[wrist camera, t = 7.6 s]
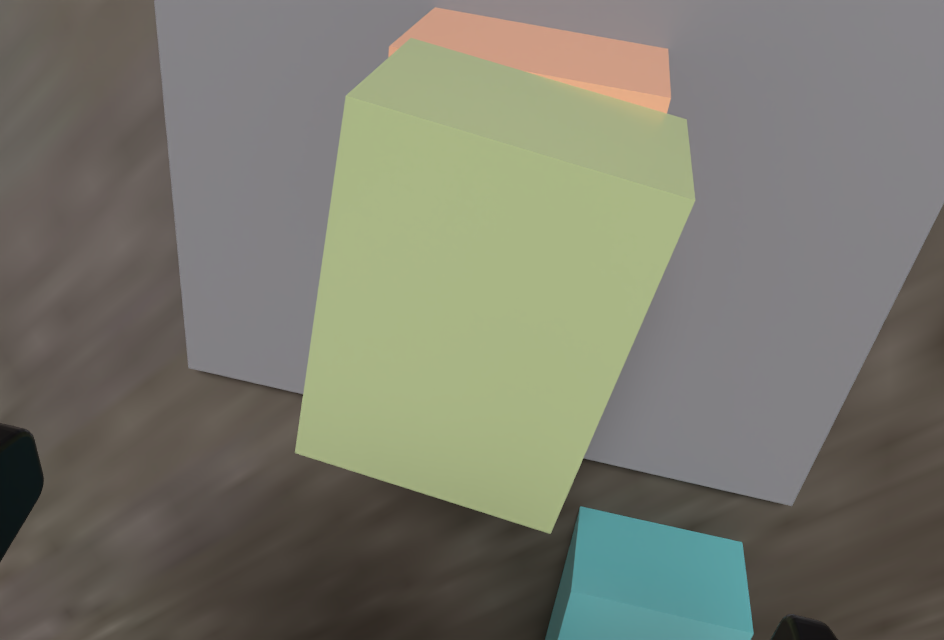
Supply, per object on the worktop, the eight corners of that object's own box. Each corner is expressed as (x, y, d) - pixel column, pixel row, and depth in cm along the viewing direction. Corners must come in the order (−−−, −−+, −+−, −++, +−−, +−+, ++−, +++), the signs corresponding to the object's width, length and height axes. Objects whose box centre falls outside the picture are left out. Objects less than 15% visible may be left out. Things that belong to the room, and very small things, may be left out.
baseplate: (788, 490, 23) (791, 505, 22) (197, 356, 24) (188, 368, 24) (1106, -155, 14) (1122, -154, 13) (143, -296, 15) (126, -299, 15)
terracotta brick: (596, 325, 20) (587, 410, 17) (408, 285, 21) (368, 361, 18) (668, 48, 16) (671, 97, 13) (435, 7, 17) (389, 46, 14)
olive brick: (567, 415, 18) (550, 533, 15) (353, 348, 18) (294, 452, 15) (686, 118, 14) (695, 200, 11) (410, 37, 14) (345, 95, 11)
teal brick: (683, 669, 28) (686, 767, 25) (545, 636, 29) (532, 728, 26) (741, 536, 24) (753, 633, 21) (580, 501, 25) (571, 591, 22)
